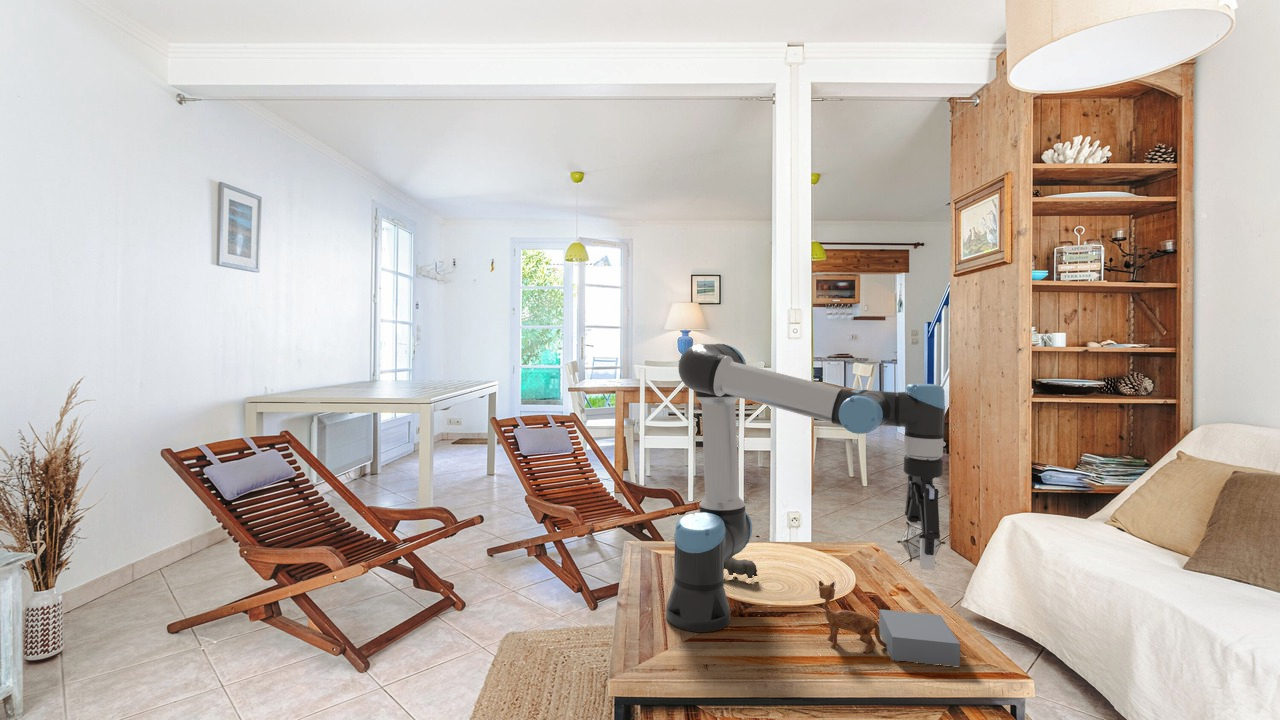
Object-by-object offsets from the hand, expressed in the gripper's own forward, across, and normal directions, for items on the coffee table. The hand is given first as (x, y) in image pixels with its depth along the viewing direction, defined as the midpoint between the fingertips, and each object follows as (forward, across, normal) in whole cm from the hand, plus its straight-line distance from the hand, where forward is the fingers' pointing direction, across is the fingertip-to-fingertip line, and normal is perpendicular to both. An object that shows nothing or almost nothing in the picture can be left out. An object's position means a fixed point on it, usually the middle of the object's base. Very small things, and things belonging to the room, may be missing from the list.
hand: (920, 559), depth 128 cm
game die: (0, 0, 0) cm, 0 cm away
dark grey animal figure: (+19, +29, +40) cm, 53 cm away
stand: (+19, 0, 0) cm, 19 cm away
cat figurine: (+20, -1, +12) cm, 23 cm away
